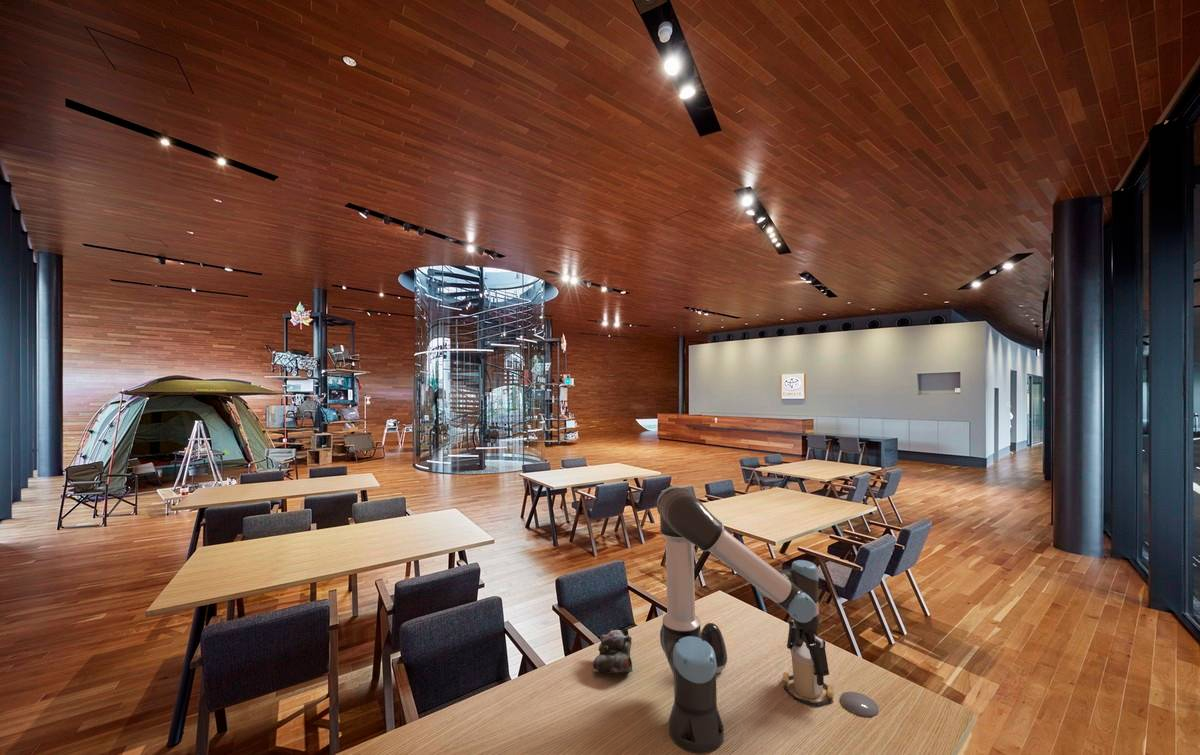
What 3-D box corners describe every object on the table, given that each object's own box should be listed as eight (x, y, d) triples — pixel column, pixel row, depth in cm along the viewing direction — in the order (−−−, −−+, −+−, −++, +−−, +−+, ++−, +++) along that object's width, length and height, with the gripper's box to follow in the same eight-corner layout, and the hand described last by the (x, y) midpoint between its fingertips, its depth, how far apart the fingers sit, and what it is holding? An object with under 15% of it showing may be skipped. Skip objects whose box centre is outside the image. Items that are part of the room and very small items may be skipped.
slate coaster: (859, 720, 131) (859, 717, 131) (832, 697, 141) (832, 695, 141) (886, 712, 134) (886, 710, 134) (858, 690, 144) (858, 688, 144)
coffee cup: (817, 681, 148) (817, 644, 148) (828, 701, 139) (827, 661, 139) (788, 679, 149) (787, 642, 150) (796, 699, 140) (795, 659, 140)
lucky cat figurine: (584, 671, 155) (587, 625, 162) (609, 672, 162) (611, 627, 169) (616, 676, 146) (618, 627, 152) (641, 677, 153) (642, 629, 159)
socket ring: (805, 710, 135) (804, 701, 136) (774, 681, 149) (774, 673, 149) (843, 700, 139) (843, 692, 139) (810, 672, 153) (809, 665, 153)
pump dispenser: (690, 668, 156) (689, 623, 157) (708, 656, 163) (707, 613, 163) (715, 682, 149) (714, 635, 149) (733, 669, 156) (732, 624, 156)
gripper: (841, 627, 135) (843, 704, 135) (793, 595, 156) (794, 662, 156) (820, 631, 133) (822, 709, 133) (774, 598, 154) (775, 666, 154)
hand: (807, 684), depth 144 cm, fingers closed on coffee cup, 9 cm apart
